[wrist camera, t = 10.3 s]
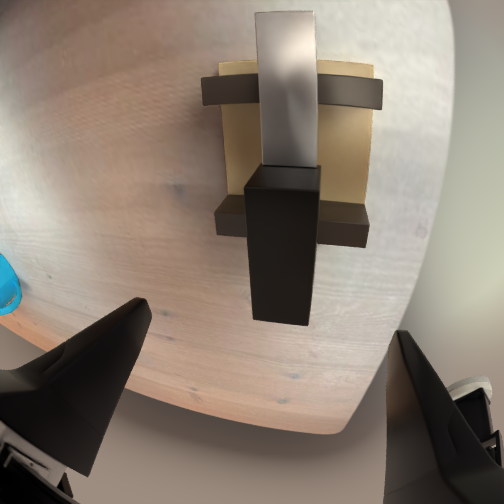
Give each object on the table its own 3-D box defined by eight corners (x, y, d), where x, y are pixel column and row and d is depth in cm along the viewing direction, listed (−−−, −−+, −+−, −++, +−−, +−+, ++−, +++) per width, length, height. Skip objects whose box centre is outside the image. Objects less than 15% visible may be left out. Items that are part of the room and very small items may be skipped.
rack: (223, 63, 14) (198, 61, 11) (370, 65, 12) (383, 62, 9) (235, 218, 19) (218, 247, 16) (358, 228, 18) (363, 261, 15)
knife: (313, 285, 16) (308, 327, 14) (265, 280, 17) (252, 320, 14) (319, 13, 9) (317, -7, 6) (252, 15, 9) (230, -2, 7)
